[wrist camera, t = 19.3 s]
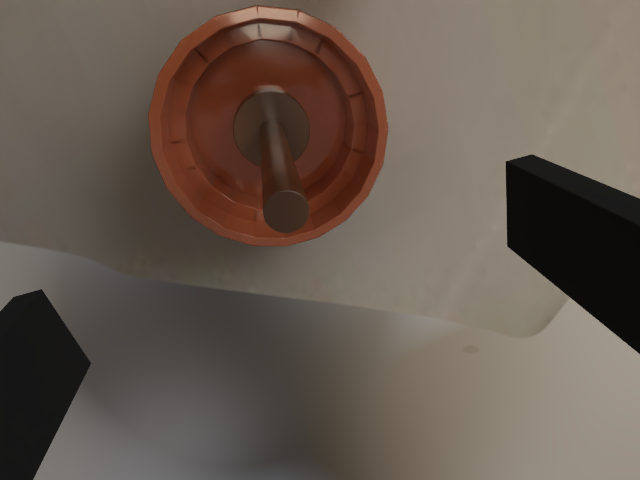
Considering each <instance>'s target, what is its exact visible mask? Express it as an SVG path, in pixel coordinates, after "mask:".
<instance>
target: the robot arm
mask: <svg viewBox="0 0 640 480" xmlns="http://www.w3.org/2000/svg"><path fill="white" fill-rule="evenodd" d="M506 196H507V246H508V247H509V248H510V249H511V250H513V251H514V252H515V253H516V254H517V255H519V256H520V257H521V258H522V259H524V260H525V261H526V262H527V263H529V264H530V265H531V266H532V267H533V268H535V269H536V270H537V271H538V272H540V273H541V274H542V275H543V276H545V277H546V278H547V279H548V280H549V281H551V282H552V283H553V284H554V285H556V286H557V287H558V288H559V289H561V290H562V291H563V292H564V293H565V294H567V295H568V296H569V297H570V298H572V299H573V300H574V301H575V302H577V303H578V304H579V305H580V306H582V307H583V308H584V309H585V310H586V311H588V312H589V313H590V314H591V315H593V316H594V317H595V318H596V319H598V320H599V321H600V322H601V323H602V324H604V325H605V326H606V327H607V328H609V329H610V330H611V331H612V332H614V333H615V334H616V335H617V336H619V337H620V338H621V339H622V340H623V341H624V342H626V343H627V344H628V345H629V346H631V347H632V348H633V349H634V350H636V351H637V352H638V353H639V354H640V199H639V198H637V197H634V196H632V195H629V194H627V193H624V192H622V191H620V190H617V189H615V188H612V187H610V186H607V185H605V184H603V183H600V182H598V181H595V180H593V179H590V178H588V177H586V176H583V175H581V174H578V173H576V172H573V171H571V170H569V169H566V168H564V167H561V166H559V165H556V164H554V163H552V162H549V161H547V160H544V159H542V158H539V157H537V156H535V155H528V156H524V157H521V158H517V159H514V160H510V161H506ZM90 364H91V363H90V361H89V360H88V358H87V357H86V355H85V354H84V352H83V351H82V349H81V348H80V346H79V345H78V343H77V342H76V340H75V339H74V337H73V336H72V334H71V333H70V331H69V330H68V328H67V327H66V325H65V324H64V323H63V321H62V319H61V318H60V316H59V315H58V313H57V312H56V310H55V309H54V307H53V306H52V304H51V303H50V301H49V300H48V298H47V297H46V295H45V294H44V292H43V291H42V290H38V291H34V292H30V293H27V294H23V295H19V296H16V297H13V298H12V299H11V301H10V302H9V303H8V304H7V305H6V306H5V307H4V308H3V309H2V310H1V311H0V480H33V478H34V477H35V475H36V472H37V470H38V468H39V466H40V464H41V462H42V460H43V458H44V456H45V454H46V452H47V450H48V448H49V446H50V444H51V442H52V440H53V438H54V436H55V434H56V432H57V430H58V428H59V426H60V424H61V422H62V420H63V418H64V416H65V414H66V412H67V410H68V408H69V406H70V404H71V402H72V400H73V398H74V396H75V394H76V392H77V390H78V388H79V386H80V384H81V382H82V380H83V378H84V376H85V374H86V372H87V370H88V368H89V366H90Z"/></svg>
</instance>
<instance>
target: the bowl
mask: <svg viewBox="0 0 640 480" xmlns="http://www.w3.org/2000/svg"><path fill="white" fill-rule="evenodd" d="M264 88H275V89H279V90H282V91H285V92H287V93H289V94H290V95H291V96H293V97H294V98H295V99H296V100H297V101H298V103H299V104H300V105H301V107H302V108H303V110H304V111H305V113H306V115H307V118H308V121H309V126H310V135H309V141H308V144H307V147H306V149H305V150H304V152H303V153H302V155H301V156H300V157H299V158H298V159H297V160H296V161H295V164H296V167H297V171H298V174H299V177H300V180H301V183H302V186H303V189H304V192H305V195H306V198H307V201H308V204H309V209H310V213H309V218H308V220H307V222H306V223H305V225H304V226H303V227H302V228H300V229H299V230H297V231H295V232H292V233H280V232H277V231H275V230H273V229H272V228H270V227H269V226H268V225H267V223H266V222H265V219H264V216H263V200H262V176H261V167H260V166H257V165H255V164H253V163H252V162H250V161H249V160H247V159H246V158H245V157H244V156H243V155H242V153H241V152H240V151H239V149H238V147H237V145H236V142H235V139H234V134H233V124H234V119H235V115H236V112H237V109H238V107H239V105H240V104H241V102H242V101H243V100H244V99H245V98H246V97H247V96H248V95H250V94H251V93H253V92H255V91H257V90H260V89H264ZM148 118H149V129H150V140H151V151H152V155H153V158H154V160H155V162H156V165H157V167H158V169H159V172H160V174H161V176H162V179H163V181H164V183H165V186H166V188H167V189H168V190H169V192H170V193H171V194H172V195H173V196H174V198H175V199H176V200H177V201H178V202H179V203H180V205H181V206H182V207H183V208H184V209H185V210H186V212H187V213H188V214H189V215H190V216H191V217H192V218H193V219H195V220H196V221H198V222H200V223H201V224H203V225H204V226H206V227H207V228H209V229H210V230H212V231H213V232H215V233H216V234H218V235H220V236H222V237H226V238H229V239H232V240H236V241H239V242H242V243H246V244H249V245H253V246H289V245H292V244H296V243H300V242H303V241H307V240H311V239H314V238H317V237H320V236H321V235H323V234H325V233H326V232H328V231H329V230H331V229H333V228H334V227H336V226H338V225H339V224H341V223H342V222H344V221H346V220H347V219H348V218H349V216H350V215H351V214H352V213H353V212H354V211H355V210H356V209H357V208H358V206H359V205H360V204H361V203H362V202H363V201H364V200H365V199H366V198H367V196H368V195H369V193H370V191H371V189H372V187H373V184H374V182H375V180H376V178H377V176H378V174H379V172H380V170H381V168H382V166H383V161H384V155H385V148H386V141H387V135H388V123H387V117H386V110H385V104H384V97H383V93H382V89H381V87H380V85H379V83H378V81H377V79H376V77H375V75H374V73H373V71H372V69H371V67H370V65H369V63H368V61H367V59H366V58H365V56H364V55H363V54H362V53H361V52H360V51H359V50H358V49H357V48H356V47H355V46H354V45H353V44H352V43H351V42H350V41H349V40H348V39H347V38H346V37H345V36H344V35H343V34H342V33H341V32H340V31H339V30H338V29H337V28H335V27H333V26H331V25H329V24H327V23H325V22H323V21H321V20H319V19H317V18H315V17H313V16H311V15H309V14H307V13H305V12H303V11H301V10H297V9H288V8H278V7H269V6H260V5H258V6H251V7H248V8H244V9H240V10H236V11H232V12H228V13H225V14H221V15H217V16H215V17H213V18H212V19H210V20H209V21H208V22H206V23H205V24H203V25H202V26H201V27H199V28H198V29H196V30H195V31H194V32H192V33H191V34H189V35H188V36H186V37H185V38H184V39H182V41H180V43H179V44H178V46H177V47H176V49H175V50H174V52H173V53H172V55H171V56H170V58H169V59H168V61H167V62H166V64H165V65H164V67H163V68H162V70H161V71H160V73H159V74H158V77H157V81H156V85H155V89H154V93H153V97H152V101H151V105H150V109H149V115H148Z"/></svg>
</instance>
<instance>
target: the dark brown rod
mask: <svg viewBox="0 0 640 480" xmlns="http://www.w3.org/2000/svg"><path fill="white" fill-rule="evenodd" d="M233 134H234V139H235V142H236V145H237V147H238V149H239V151H240V152H241V153H242V155H243V156H244V157H245V158H246V159H247V160H249V161H250V162H252V163H253V164H255V165H257V166H260V167H261V176H262V200H263V216H264V219H265V222H266V223H267V225H268V226H269V227H270V228H272V229H273V230H275V231H277V232H280V233H292V232H295V231H297V230H299V229H300V228H302V227H303V226H304V225H305V223H306V222H307V220H308V218H309V213H310V209H309V204H308V201H307V198H306V195H305V192H304V189H303V186H302V183H301V180H300V177H299V174H298V171H297V167H296V164H295V161H296V160H297V159H298V158H299V157H300V156H301V155H302V153H303V152H304V150H305V149H306V147H307V144H308V141H309V135H310V126H309V121H308V118H307V115H306V113H305V111H304V110H303V108H302V107H301V105H300V104H299V103H298V101H297V100H296V99H295V98H294V97H293V96H291V95H290V94H289V93H287V92H285V91H282V90H279V89H275V88H264V89H260V90H257V91H255V92H253V93H251V94H250V95H248V96H247V97H246V98H245V99H244V100H243V101H242V102H241V104H240V105H239V107H238V109H237V112H236V115H235V119H234V124H233Z"/></svg>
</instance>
